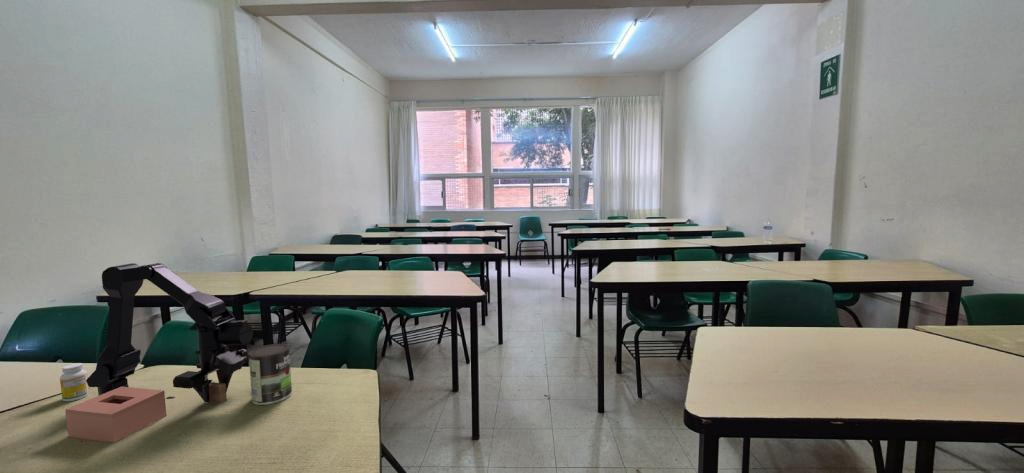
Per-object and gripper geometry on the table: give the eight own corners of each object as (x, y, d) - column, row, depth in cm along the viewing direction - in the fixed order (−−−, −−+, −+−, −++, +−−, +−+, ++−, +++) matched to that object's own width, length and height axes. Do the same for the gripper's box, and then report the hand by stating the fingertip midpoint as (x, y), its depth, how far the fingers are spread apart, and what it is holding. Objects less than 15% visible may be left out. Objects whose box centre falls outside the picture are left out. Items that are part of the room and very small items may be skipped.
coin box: (68, 436, 98) (65, 409, 97) (124, 411, 109) (121, 386, 109) (114, 442, 95) (111, 414, 94) (166, 415, 107) (164, 390, 106)
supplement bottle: (82, 399, 116) (79, 367, 115) (57, 403, 114) (53, 370, 113) (93, 391, 121) (89, 360, 120) (69, 395, 119) (65, 363, 118)
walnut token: (205, 402, 114) (204, 385, 114) (212, 398, 116) (210, 382, 116) (220, 403, 113) (219, 386, 113) (226, 400, 115) (225, 383, 115)
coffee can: (299, 388, 122) (297, 343, 121) (278, 405, 112) (275, 356, 110) (266, 388, 122) (263, 343, 121) (242, 405, 112) (239, 356, 111)
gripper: (205, 359, 102) (209, 417, 104) (262, 334, 121) (266, 384, 122) (168, 356, 104) (174, 413, 106) (230, 333, 123) (234, 382, 124)
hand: (215, 397), depth 114 cm, fingers open, 5 cm apart
